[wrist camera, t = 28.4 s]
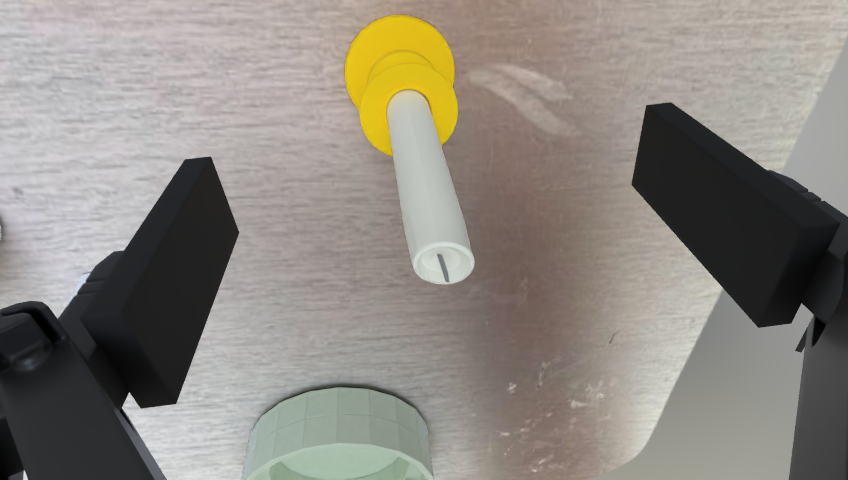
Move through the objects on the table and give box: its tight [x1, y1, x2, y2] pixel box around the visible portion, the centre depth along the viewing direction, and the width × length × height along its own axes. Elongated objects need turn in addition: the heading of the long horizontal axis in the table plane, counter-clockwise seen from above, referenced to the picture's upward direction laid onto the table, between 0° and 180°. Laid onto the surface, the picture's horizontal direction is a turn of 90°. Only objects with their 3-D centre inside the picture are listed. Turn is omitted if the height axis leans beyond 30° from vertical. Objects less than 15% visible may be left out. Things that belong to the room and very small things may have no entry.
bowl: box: [241, 387, 434, 480], centre depth 38 cm, size 14×14×5 cm
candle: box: [344, 15, 475, 284], centre depth 17 cm, size 5×5×16 cm
